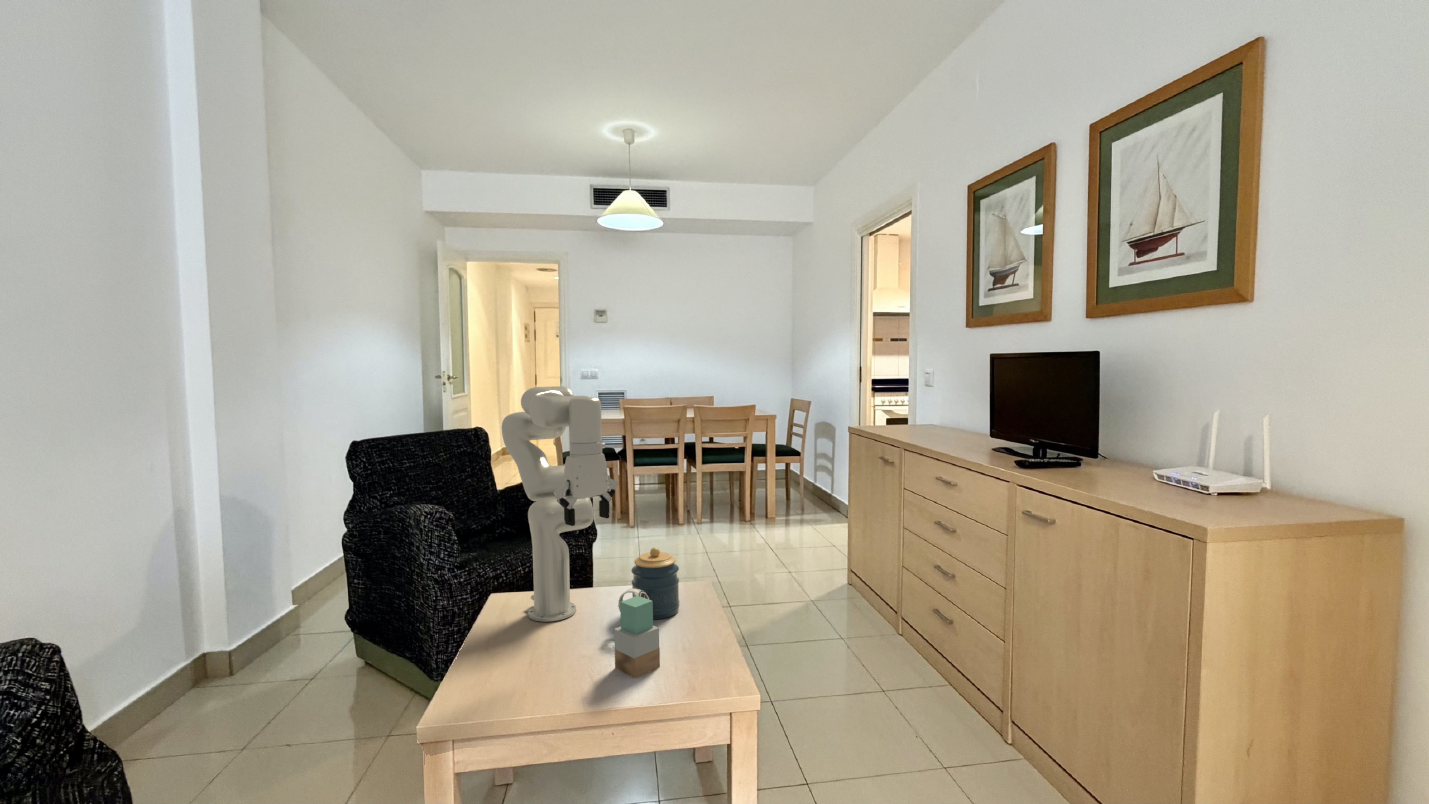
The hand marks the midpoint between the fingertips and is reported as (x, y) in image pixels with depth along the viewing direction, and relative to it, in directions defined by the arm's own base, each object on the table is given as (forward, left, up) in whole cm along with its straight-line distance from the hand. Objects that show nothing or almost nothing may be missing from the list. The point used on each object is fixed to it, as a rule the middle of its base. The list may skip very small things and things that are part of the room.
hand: (587, 521), depth 146 cm
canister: (-5, +25, -31) cm, 40 cm away
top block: (+17, +1, -26) cm, 31 cm away
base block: (+17, +1, -31) cm, 35 cm away
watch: (+2, +12, -31) cm, 33 cm away
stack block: (+17, +1, -22) cm, 27 cm away
